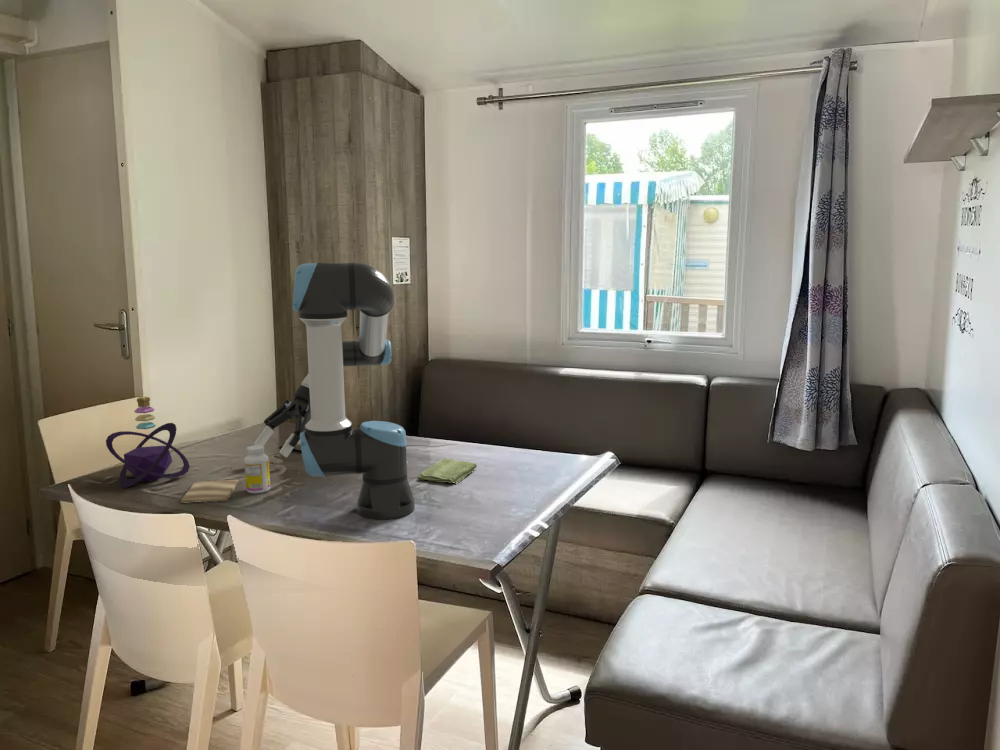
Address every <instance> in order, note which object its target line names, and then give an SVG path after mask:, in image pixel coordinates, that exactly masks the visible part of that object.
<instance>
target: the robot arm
mask: <svg viewBox="0 0 1000 750" xmlns="http://www.w3.org/2000/svg"><path fill="white" fill-rule="evenodd" d="M293 285H294V286H293V296H292V297H293V298H292V311H294V312H296V313H299V314H298V315H299V316H298V317H299V318H298V319H299V320H300V321H301V322H302V323H303V324H305V328H306V345H307V364H308V365H307V366H308V367H307V368H308V373H307V375H306V376H305V377H304V379H303V380H302V382H301V385H299V386H298V388H297V389H296V390H295V392H294V393H293V397H294V399H293V401H290V400H289V399H286V400H285V401H284V402H283V403H282V404H281V405H280V406H279V407H278V408H277V409H276V410H275V411H273V412H272V413H271V414H270V415H269V416H267V418H265V419H264V420H263V423H264V424H265V427H264V428H263V430H262V431H261V432H260V434H259V436H258V437H257V438H256V440H255V441H254V442H253V445H263V446H264V447H265V444H266V443H267V441H268V440H269V439H270V438H271V436H272V435H273V433H274V432H275V429H276V428H277V427H279V426H280V425H282V424H283V423H285V422H286V421H288V420H289V419H290V420H292V419H295V426H294V427H295V428H294V429H295V430H294V431H293V433H291V434H290V435H289V437H288V438H287V439H288V440H287V439H286V440H287V441H286V443H285V444H283V446H282V448H280V450H279V453H280V454H281V455H282V456H283V457H285V458H288V457H289V456H290V454H291V452H292V451H293V450H294V449H293V448H294V447H295V446H296V444H297V443H298V441H299V440H300V443H301V451H300V452H301V455H302V461H303V464H304V469H305V471H306V474H307V475H309V476H310V477H314V478H315V477H316V478H317V477H324V478H326V477H327V478H328V477H334V476H348V475H358V474H359V475H362V483H361V486H360V487H361V488H360V489H359V490H360V491H359V494H358V498H357V501H356V512H357V514H358V515H360V516H361V517H363V518H367V519H373V520H390V519H397V518H401V517H404V516H407V515H409V514H411V513H413V512H414V510H415V509H416V504H415V498H414V497H415V496H414V495H413V492H412V490H411V487H410V483H409V481H408V463H407V462H408V460H407V459H408V458H407V446H408V442H407V435H406V430H405V429H404V427H403V426H401V425H399V424H398V423H394V422H389V421H381V420H369V421H364V422H361V424H360V426H359V428H353V424H352V421H351V420H349V418H347V416H346V402H345V401H346V398H345V395H346V394H345V379H344V378H345V376H344V375H345V373H344V372H345V371H344V368H345V367H359V366H361V367H362V366H364V367H365V366H366V367H367V366H383V365H384V366H385V365H389V364H391V363H392V343H391V341H390V340H389V339H387V334H388V333H387V331H388V323H389V313H390V312H392V309H393V308H394V304H395V303H394V302H395V292H394V289H393V286H392V285H391V283H390V281H389V279H388V278H387V277H386V276H385V275H384V274H383V273H382V272H381V271H380V270H378V269H377V268H375V267H374V266H372V265H369V264H367V263H362V262H309V263H302V264H299V265H298V266H297V267H296V269H295V275H294V284H293ZM355 310H358V311H359V340H343V331H342V330H343V329H342V328H343V327H342V325H343V323H344V322H345V321H346V319H348V311H355Z"/></svg>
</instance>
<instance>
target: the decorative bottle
mask: <svg viewBox="0 0 1000 750" xmlns="http://www.w3.org/2000/svg"><path fill="white" fill-rule="evenodd" d="M136 402H137V408H136V409H135V410H134V414H135V413H136V414H139V415H138V416H137V417H136V418H135V419H134V421H136V422H140V423H139V424H137V425H136V426H135V429H137V430H149V429H153V428H155V427H156V426H157V424H155V423H153V422H151V421H152V420H155V419H156V417H155V416H154V415H152V414H149V413H152V412H154V411H155V408H153V407H152V406H150V404H151V403H150V402H151V397H149V396H139V397H137V398H136ZM163 431H168V433H169V437H168V441H167V442H166V441H165V440H162V439H160V438H157V437H156V436H155V435H157V434H158V433H161V432H163ZM124 435H125V436H127V435H128V436H129V435H131V436H132V435H133V436H139V437H140V436H141V437H144V438H143V440H142V441H141V442H139V444H138V445H137V446H136V447H135V448H134V449H132V450H130V451H128V452H125V453H124V454H123V458H122V457H121V456H120V454H118V453H117V452H116V450H115V449H114V446H113V441H114V440H115V439H116V438H118V437H120V436H121V437H122V436H124ZM176 435H177V425H176V424H175V423H174V422H167V423H165V424H162V425H161V426H159V427H157V428H156V429H154V430H153V431H152V432H150V433H149V434H145V433H142V432H138V431H136V432H135V431H129V430H128V431H127V430H126V431H120V430H119V431H116V432H113V433H111V434H110V435H108V436H107V437H106V440H105V445H106V447H107V450H108V451H109V453H111V455H112V456H113V457H114V458H115V459H116V460H118V461H119V462H121V463H123V464H124V465H123V466H122V468H121V471H120V472H119V473H120V474H119V477H118V484H119V486H120V487H121V488H125V489H126V488H130V487H131V486H133V487H134V485H136V484H138V483H139V482H143V483H145V482H144V481H147V482H151V481H150V480H155V481H159V480H160V479H161V478H178V477H182V476H185V475H186V474H187V473H188V472H189V470H190V463H189V460H188V459H187V457H186V456H185V455H184V454H183V453H182V452H181V451H180V450H179V449H178V448H176V447H175V446H173V442H174V440H175V437H176ZM150 439H151V440H154V441H156V442H159V443H160V444H162V445H153V446H144V445H145V444H146V443H147V442H148V441H149V440H150ZM170 449H171V450H173V451H174V452H175V453H176V454H177V455H178V456H179V458H180V459H181V460H182V463H183V467H182V468H181V470H179V471H177V472H174V473H166V471H167V470H168V469H169V467H170V465H171V464H172V463H173V458H172V455H171V451H170ZM127 471H129V473H131V474H132V475H133V476H134V478H127ZM158 479H159V480H158Z"/></svg>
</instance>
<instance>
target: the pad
mask: <svg viewBox="0 0 1000 750" xmlns="http://www.w3.org/2000/svg"><path fill="white" fill-rule="evenodd" d="M237 483H238V484H239V480H238V479H226V480H224V479H223V480H208V481H206V480H205V481H194V483H193V484H192V485H191V487H190V488H189V489H188V491H186V493H185V494H184V495H183V497H182V498H181V500H180V504H181V503H184V502H192V501H193V502H195V501H201V502H202V501H221V502H227V501H226V500H228V501H229V499H230V498H231V496H232V494H233V493H234V491H235V489H236V488H237V486H238V484H237ZM236 485H237V486H236ZM235 487H236V488H235ZM234 488H235V489H234ZM233 490H234V491H233ZM232 492H233V493H232ZM231 493H232V494H231ZM230 495H231V496H230ZM228 498H229V499H228Z"/></svg>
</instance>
